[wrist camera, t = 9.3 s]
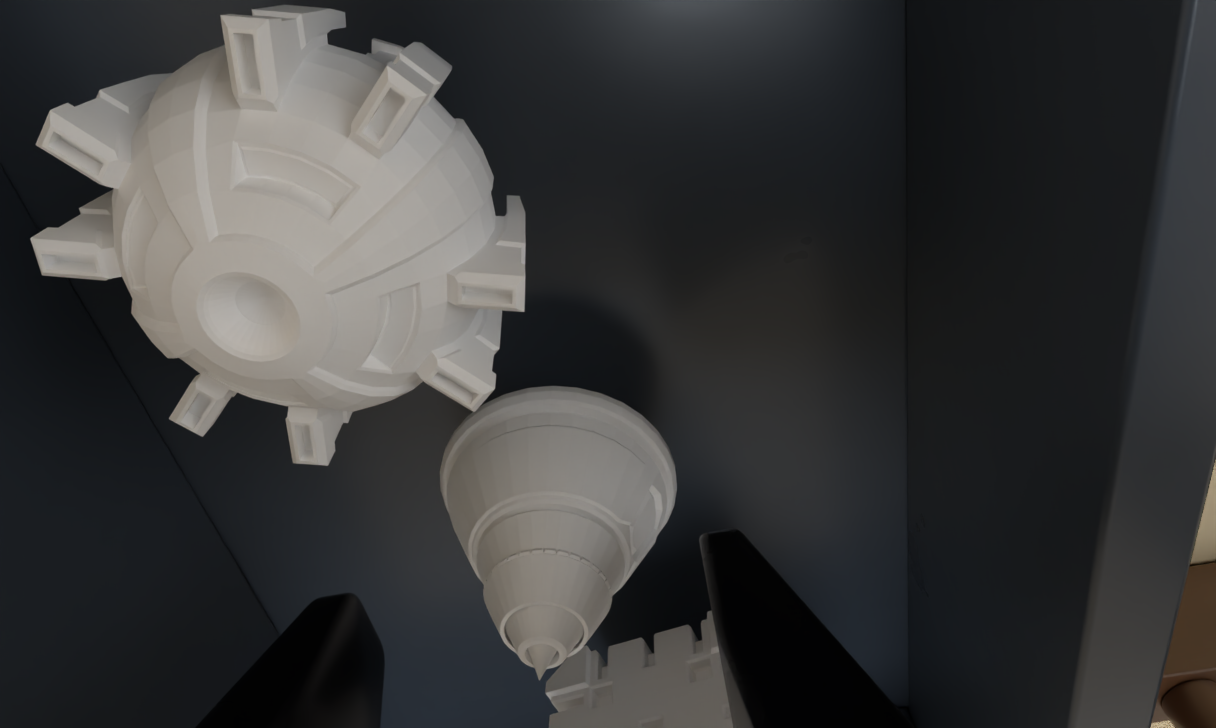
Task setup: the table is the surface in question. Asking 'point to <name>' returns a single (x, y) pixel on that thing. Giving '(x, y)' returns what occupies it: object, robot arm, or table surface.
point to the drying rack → (1192, 656)
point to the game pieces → (379, 322)
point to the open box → (675, 355)
